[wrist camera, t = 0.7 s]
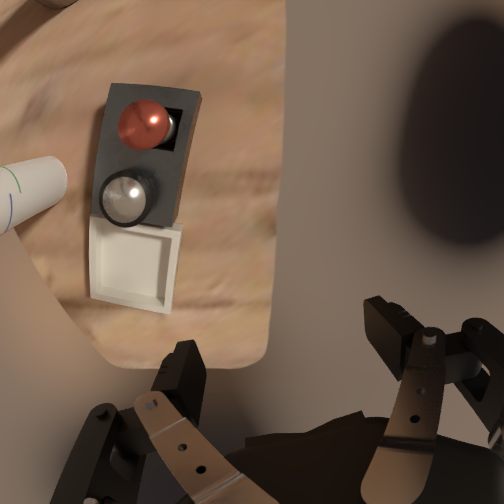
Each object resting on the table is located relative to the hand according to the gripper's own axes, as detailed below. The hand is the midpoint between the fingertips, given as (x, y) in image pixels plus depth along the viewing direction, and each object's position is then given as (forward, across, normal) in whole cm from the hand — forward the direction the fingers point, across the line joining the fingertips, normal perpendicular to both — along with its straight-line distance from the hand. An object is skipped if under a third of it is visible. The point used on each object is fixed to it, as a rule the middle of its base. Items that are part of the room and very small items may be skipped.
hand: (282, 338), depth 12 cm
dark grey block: (+22, +10, -14) cm, 28 cm away
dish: (+24, +17, -1) cm, 29 cm away
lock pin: (+22, +8, -16) cm, 28 cm away
